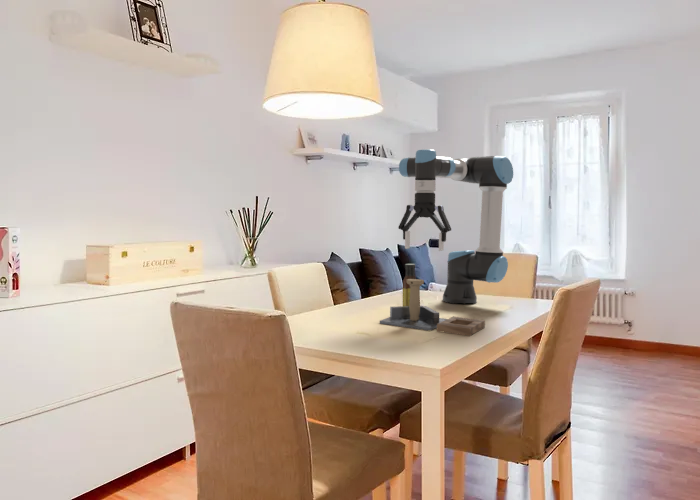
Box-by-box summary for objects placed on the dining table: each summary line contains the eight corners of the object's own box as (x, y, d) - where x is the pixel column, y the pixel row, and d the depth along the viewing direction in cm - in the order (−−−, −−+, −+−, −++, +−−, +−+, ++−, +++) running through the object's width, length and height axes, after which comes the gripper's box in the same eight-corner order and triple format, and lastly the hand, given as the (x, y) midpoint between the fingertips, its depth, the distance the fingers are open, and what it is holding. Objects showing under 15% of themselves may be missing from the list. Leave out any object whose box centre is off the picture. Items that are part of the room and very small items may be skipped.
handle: (418, 322, 208) (419, 281, 207) (403, 320, 212) (404, 279, 210) (425, 320, 212) (426, 280, 211) (410, 318, 216) (410, 278, 214)
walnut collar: (453, 322, 213) (453, 316, 213) (484, 327, 207) (485, 320, 207) (436, 331, 199) (437, 324, 199) (470, 335, 193) (470, 328, 193)
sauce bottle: (420, 313, 230) (422, 264, 229) (413, 315, 225) (415, 265, 223) (406, 311, 234) (407, 262, 232) (398, 313, 229) (400, 264, 227)
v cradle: (401, 315, 225) (401, 302, 225) (449, 321, 215) (449, 308, 214) (379, 323, 210) (380, 310, 209) (430, 330, 199) (430, 316, 199)
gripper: (390, 191, 214) (389, 248, 216) (453, 192, 201) (452, 252, 203) (399, 191, 220) (398, 246, 222) (460, 192, 207) (459, 250, 210)
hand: (423, 249), depth 213 cm, fingers open, 13 cm apart
